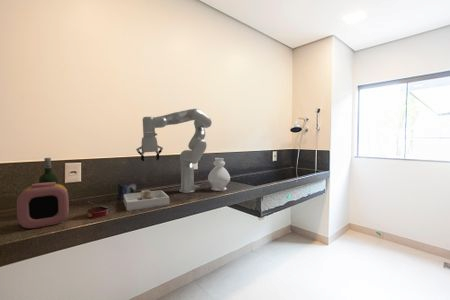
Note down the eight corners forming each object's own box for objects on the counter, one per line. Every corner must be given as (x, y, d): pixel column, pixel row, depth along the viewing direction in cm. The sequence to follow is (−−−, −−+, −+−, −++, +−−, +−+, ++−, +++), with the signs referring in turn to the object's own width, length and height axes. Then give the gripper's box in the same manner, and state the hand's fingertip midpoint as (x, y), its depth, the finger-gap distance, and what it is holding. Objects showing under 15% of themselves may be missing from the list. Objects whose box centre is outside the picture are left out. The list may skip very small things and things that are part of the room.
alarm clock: (17, 232, 97) (15, 188, 96) (21, 224, 106) (19, 183, 105) (69, 222, 108) (67, 183, 107) (68, 216, 117) (67, 179, 116)
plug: (149, 200, 143) (149, 189, 142) (150, 202, 139) (150, 191, 138) (141, 201, 141) (141, 190, 140) (142, 203, 137) (142, 192, 136)
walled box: (161, 197, 154) (161, 190, 154) (169, 205, 137) (169, 197, 137) (123, 201, 143) (123, 194, 142) (127, 211, 125) (126, 202, 125)
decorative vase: (220, 192, 168) (221, 159, 167) (203, 189, 179) (203, 158, 178) (234, 188, 183) (234, 158, 181) (217, 185, 193) (217, 156, 192)
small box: (120, 200, 146) (119, 184, 146) (117, 198, 151) (117, 183, 151) (136, 197, 153) (136, 182, 152) (133, 195, 158) (133, 181, 157)
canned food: (90, 222, 121) (89, 204, 124) (110, 218, 124) (109, 200, 128) (84, 219, 111) (83, 199, 114) (106, 215, 114) (105, 196, 118)
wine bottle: (56, 209, 127) (54, 157, 125) (60, 212, 122) (58, 158, 120) (38, 213, 121) (36, 158, 119) (42, 216, 116) (40, 159, 114)
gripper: (160, 134, 158) (161, 159, 159) (134, 135, 149) (135, 161, 150) (163, 135, 152) (164, 160, 153) (136, 135, 143) (138, 162, 144)
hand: (150, 160), depth 152 cm, fingers open, 9 cm apart
